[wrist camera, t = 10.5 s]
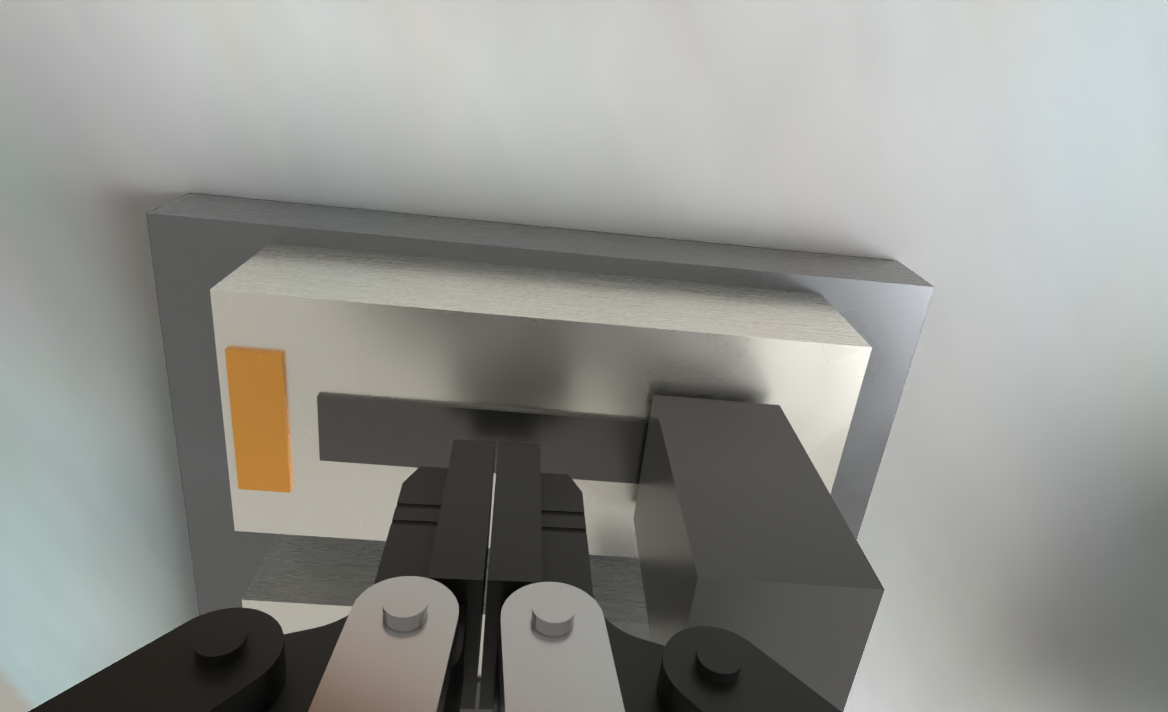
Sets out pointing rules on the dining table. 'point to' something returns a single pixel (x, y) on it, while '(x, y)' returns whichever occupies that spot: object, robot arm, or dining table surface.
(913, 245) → the dining table surface
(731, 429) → the block
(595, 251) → the breaker panel
